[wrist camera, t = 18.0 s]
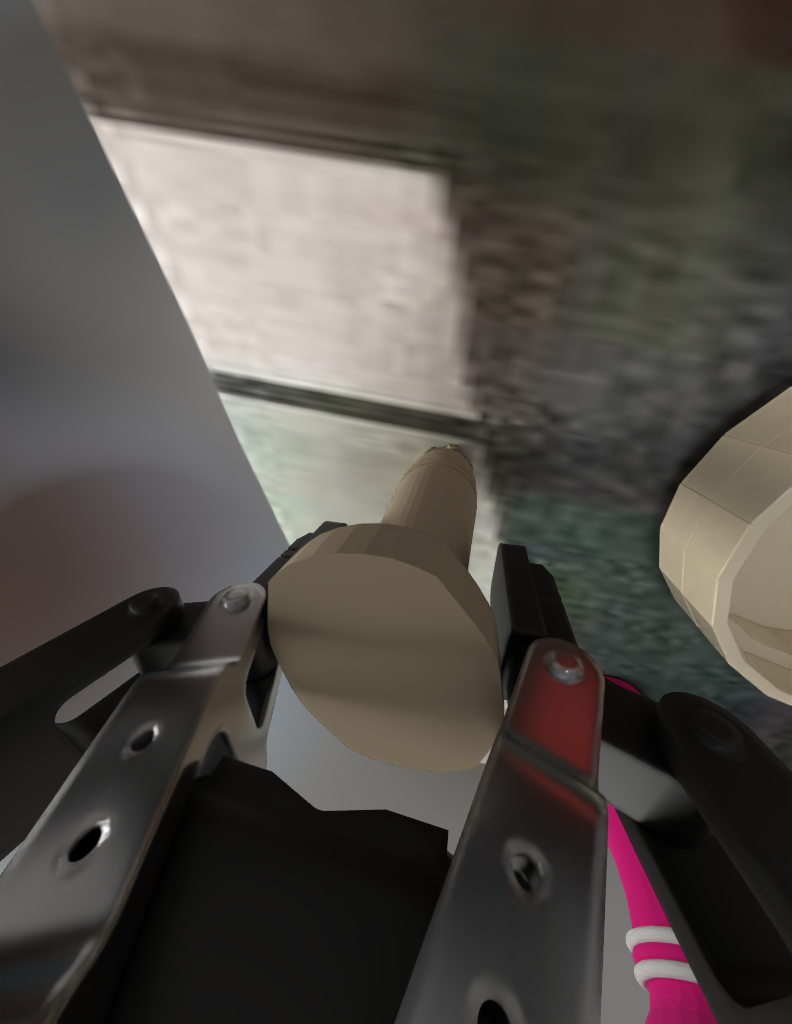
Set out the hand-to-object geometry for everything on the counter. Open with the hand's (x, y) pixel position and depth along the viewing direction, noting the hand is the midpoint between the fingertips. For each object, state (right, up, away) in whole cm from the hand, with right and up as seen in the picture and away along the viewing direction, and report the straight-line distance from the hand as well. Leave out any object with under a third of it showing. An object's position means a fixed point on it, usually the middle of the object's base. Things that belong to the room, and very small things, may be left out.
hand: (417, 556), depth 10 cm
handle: (+3, +4, +9) cm, 11 cm away
